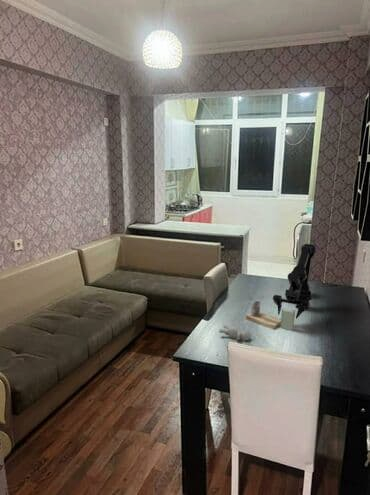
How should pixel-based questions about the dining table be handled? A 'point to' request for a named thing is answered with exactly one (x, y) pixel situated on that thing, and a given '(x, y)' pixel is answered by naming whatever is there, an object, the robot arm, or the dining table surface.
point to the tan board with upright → (262, 317)
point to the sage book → (287, 319)
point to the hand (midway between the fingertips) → (287, 316)
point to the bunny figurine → (236, 333)
